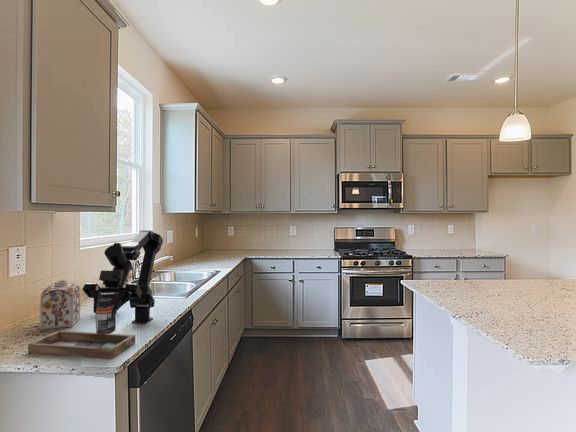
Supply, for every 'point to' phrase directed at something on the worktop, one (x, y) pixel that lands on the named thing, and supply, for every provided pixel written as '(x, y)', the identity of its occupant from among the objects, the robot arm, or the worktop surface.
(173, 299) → the worktop surface
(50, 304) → the decorative jar
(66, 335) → the wooden serving tray
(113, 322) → the supplement bottle
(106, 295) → the coffee mug
